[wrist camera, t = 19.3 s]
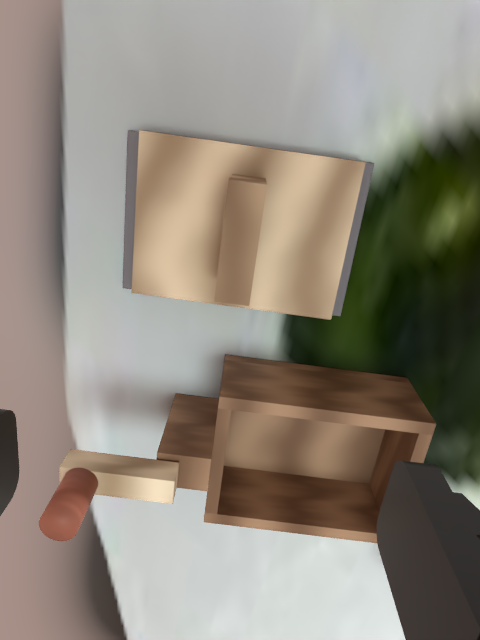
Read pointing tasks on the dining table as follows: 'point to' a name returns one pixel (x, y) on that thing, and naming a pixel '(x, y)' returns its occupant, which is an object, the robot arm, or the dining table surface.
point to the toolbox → (296, 446)
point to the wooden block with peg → (104, 487)
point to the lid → (241, 224)
